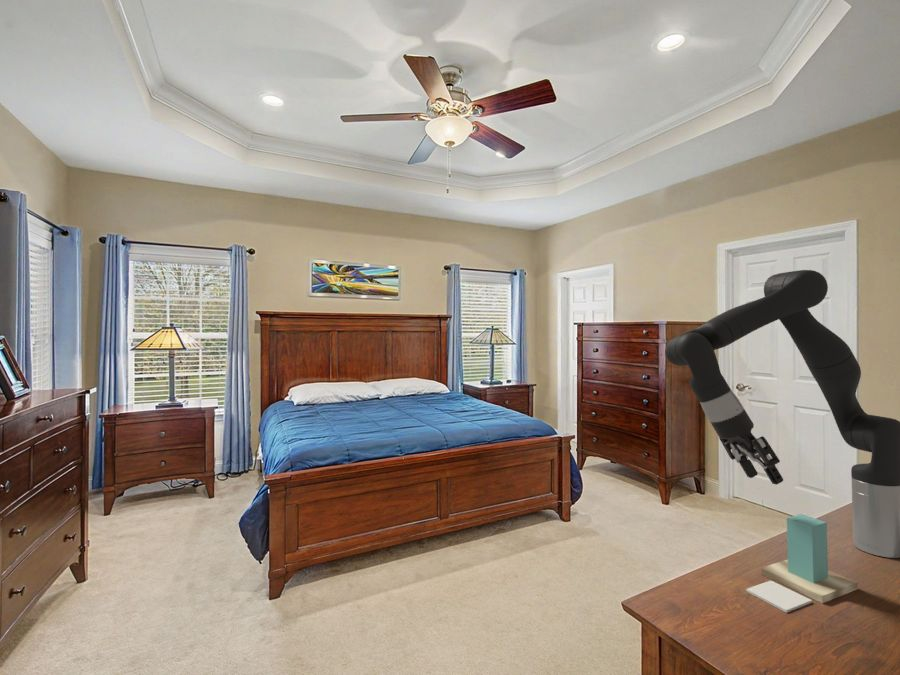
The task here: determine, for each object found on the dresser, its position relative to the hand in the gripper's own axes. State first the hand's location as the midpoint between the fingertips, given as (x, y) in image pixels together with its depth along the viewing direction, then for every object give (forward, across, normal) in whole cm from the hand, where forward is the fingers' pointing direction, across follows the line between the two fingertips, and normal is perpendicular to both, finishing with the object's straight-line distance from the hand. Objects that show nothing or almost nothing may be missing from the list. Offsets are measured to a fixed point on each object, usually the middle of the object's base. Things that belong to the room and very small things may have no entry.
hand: (765, 479), depth 99 cm
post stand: (+23, +2, +3) cm, 23 cm away
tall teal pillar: (+22, +2, +2) cm, 22 cm away
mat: (+20, -4, +12) cm, 23 cm away
